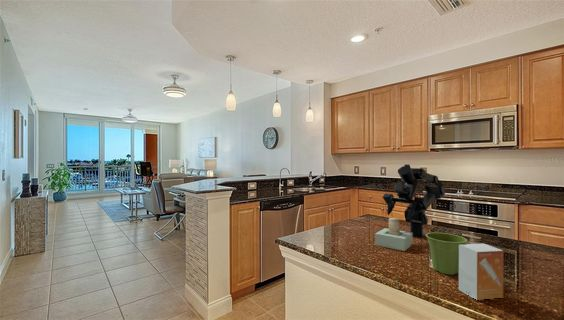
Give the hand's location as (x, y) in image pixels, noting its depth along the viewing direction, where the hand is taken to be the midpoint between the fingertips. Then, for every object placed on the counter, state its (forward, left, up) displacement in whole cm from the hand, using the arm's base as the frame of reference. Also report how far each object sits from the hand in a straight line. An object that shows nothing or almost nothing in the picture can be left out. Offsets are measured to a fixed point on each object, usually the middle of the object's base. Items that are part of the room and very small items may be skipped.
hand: (397, 216), depth 118 cm
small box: (+32, +31, -12) cm, 47 cm away
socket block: (+3, -1, -12) cm, 12 cm away
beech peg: (+3, -1, -11) cm, 11 cm away
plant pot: (+20, +21, -12) cm, 32 cm away
